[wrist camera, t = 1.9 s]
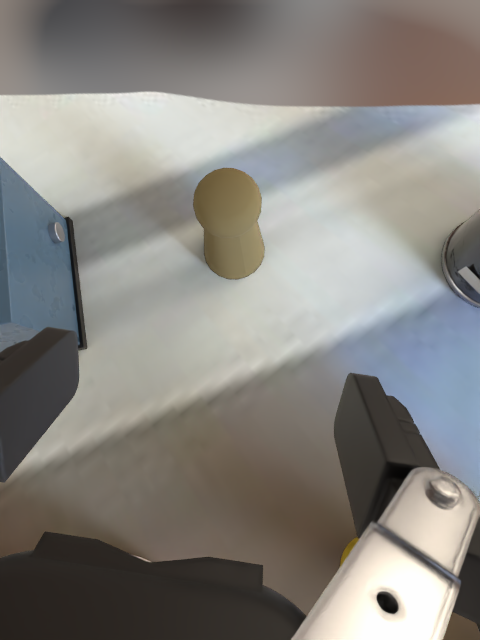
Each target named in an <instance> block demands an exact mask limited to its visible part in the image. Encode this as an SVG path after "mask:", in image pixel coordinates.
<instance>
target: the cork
mask: <svg viewBox="0 0 480 640" xmlns="http://www.w3.org/2000/svg"><path fill="white" fill-rule="evenodd" d="M261 201H262V198H261V194H260V191H259V188H258V186H257V184H256V183H255V181H254V180H253V179H252V177H250V176H249V175H247V174H246V173H245V172H243V171H240V170H237V169H234V168H222V169H218V170H214V171H213V172H211V173H209V174H208V175H206V176H205V177H204V178H203V179H202V180H201V181H200V182H199V184H198V186H197V188H196V190H195V193H194V202H193V207H194V211H195V215H196V218H197V220H198V221H199V223H200V224H201V226H202V227H203V228H204V255H205V259H206V263H207V264H208V266H209V267H210V269H211V270H212V271H213V272H215V273H216V274H217V275H219V276H221V277H224V278H227V279H240V278H244V277H247V276H249V275H250V274H252V273H253V272H255V271H256V269H257V268H258V267H259V266H260V265H261V262H262V260H263V258H264V244H263V240H262V237H261V233H260V229H259V226H258V222H257V220H258V217H259V215H260V213H261Z"/></svg>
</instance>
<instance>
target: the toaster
mask: <svg viewBox="0 0 480 640" xmlns="http://www.w3.org/2000/svg"><path fill="white" fill-rule="evenodd" d="M46 327H54V328H61V329H67V330H73V331H75V332H76V334H77V338H78V350H82V349H87V343H86V334H85V326H84V317H83V308H82V300H81V291H80V282H79V273H78V265H77V256H76V247H75V239H74V230H73V221H72V220H71V219H70V218H69V217H67V218H63V217H62V216H61V215H60V214H59V213H58V212H57V211H56V210H55V209H54V208H53V207H52V206H51V205H50V204H49V203H48V202H47V201H45V200H44V199H43V198H42V197H41V196H40V195H39V194H38V193H37V192H36V191H35V190H34V189H33V188H32V187H31V186H30V185H29V184H28V183H27V182H26V181H25V180H24V179H23V178H22V177H21V176H19V175H18V174H17V173H16V172H15V171H14V170H13V169H12V168H11V167H10V166H9V165H8V164H7V163H6V162H5V161H4V160H3V159H2V158H1V157H0V352H2V351H3V350H4V349H6V348H7V347H10V346H12V345H15V344H17V343H20V342H22V341H25V340H28V341H29V340H30V339H31V338H33V337H34V336H35V335H36V334H38V333H39V332H40V331H42V330H43V329H44V328H46Z"/></svg>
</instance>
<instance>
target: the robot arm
mask: <svg viewBox="0 0 480 640" xmlns="http://www.w3.org/2000/svg"><path fill="white" fill-rule="evenodd" d="M442 268H443V272H444V275H445V278H446V280H447V282H448V283H449V285H450V287H451V288H452V289H453V290H454V292H455V293H456V294H457V295H458V296H459V297H461V298H462V299H463V300H465V301H466V302H468V303H469V304H471V305H473V306H475V307H478V308H480V209H479V210H478V211H477V212H476V213H475V214H474V215H472V216H471V217H470V218H469V219H468V220H467V221H465V222H464V223H462V224H461V225H459V226H458V227H457V228H456V229H455V230H454V231H453V232H452V233H451V234H450V235H449V237H448V238H447V240H446V242H445V244H444V247H443V250H442ZM78 383H79V360H78V338H77V334H76V332H75V331H73V330H67V329H61V328H54V327H46V328H44V329H43V330H42V331H40V332H39V333H38V334H36V335H35V336H34V337H33V338H31V339H30V340H29V341H28V340H25V341H22V342H20V343H17V344H15V345H12V346H10V347H7V348H6V349H4V350H3V351H2V352H0V482H5V481H6V480H7V479H8V478H9V476H10V475H11V474H12V473H13V471H14V470H15V469H16V468H17V467H18V465H19V464H20V463H21V462H22V460H23V459H24V458H25V457H26V455H27V454H28V453H29V452H30V450H31V449H32V448H33V447H34V445H35V444H36V443H37V442H38V440H39V439H40V438H41V437H42V435H43V434H44V433H45V432H46V430H47V429H48V428H49V427H50V425H51V424H52V423H53V422H54V420H55V419H56V418H57V417H58V415H59V414H60V413H61V412H62V410H63V409H64V408H65V407H66V405H67V404H68V403H69V402H70V400H71V399H72V398H73V396H74V395H75V393H76V390H77V387H78ZM419 433H420V432H419V430H418V428H417V426H416V425H415V424H414V421H413V419H412V417H411V415H410V414H409V412H408V410H407V408H406V407H404V406H403V405H402V404H401V403H400V402H399V401H398V400H397V399H396V398H395V397H394V396H387V395H386V394H385V392H384V390H383V388H382V386H381V384H380V382H379V380H378V378H377V377H375V376H368V375H362V374H355V373H350V374H349V375H348V376H347V379H346V382H345V385H344V389H343V392H342V396H341V399H340V403H339V406H338V410H337V413H336V417H335V422H334V438H335V442H336V447H337V451H338V455H339V459H340V464H341V468H342V472H343V477H344V481H345V485H346V489H347V494H348V498H349V502H350V506H351V511H352V515H353V519H354V524H355V528H356V532H357V536H358V539H359V540H358V541H357V543H356V544H355V546H354V547H353V549H352V550H351V552H350V553H349V555H348V556H347V558H346V559H345V561H344V562H343V564H342V565H341V567H340V568H339V570H338V571H337V573H336V574H335V575H334V577H333V578H332V580H331V581H330V583H329V584H328V586H327V587H326V589H325V590H324V592H323V593H322V595H321V596H320V598H319V599H318V601H317V602H316V604H315V605H314V607H313V608H312V609H311V611H310V612H309V614H308V615H307V616H306V615H305V614H304V613H303V612H302V611H301V610H300V609H299V608H298V607H296V606H295V605H294V604H293V603H292V602H290V601H289V600H288V599H286V598H285V597H284V596H282V595H281V594H279V593H277V592H276V591H274V590H272V589H270V588H268V587H266V586H264V585H262V584H263V565H258V564H251V563H245V562H238V561H232V560H226V559H219V558H213V557H204V558H193V559H183V560H173V561H163V562H147V561H144V560H142V559H140V558H137V557H135V556H133V555H131V554H129V553H126V552H124V551H122V550H120V549H118V548H115V547H113V546H111V545H109V544H107V543H104V542H102V541H100V540H97V539H90V538H84V537H77V536H71V535H64V534H58V533H52V532H44V534H43V536H42V537H41V539H40V541H39V542H38V544H37V546H36V548H35V549H34V550H32V551H25V552H20V553H16V554H11V555H8V556H5V557H2V558H0V640H443V638H444V635H445V632H446V629H447V626H448V622H449V619H450V616H451V613H452V612H454V613H456V614H459V615H461V616H463V617H465V618H467V619H469V620H471V621H473V622H475V623H476V624H477V626H478V629H479V631H480V505H479V502H478V500H477V498H476V496H475V495H474V494H473V492H472V491H471V490H470V489H469V488H468V487H467V486H466V485H465V484H464V483H462V482H461V481H460V480H458V479H457V478H455V477H454V476H452V475H450V474H448V473H446V472H444V471H441V470H440V469H439V467H438V465H437V463H436V461H435V459H434V458H433V456H432V454H431V452H430V450H429V448H428V447H427V445H426V443H425V441H424V439H423V437H422V436H421V435H420V434H419Z"/></svg>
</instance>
